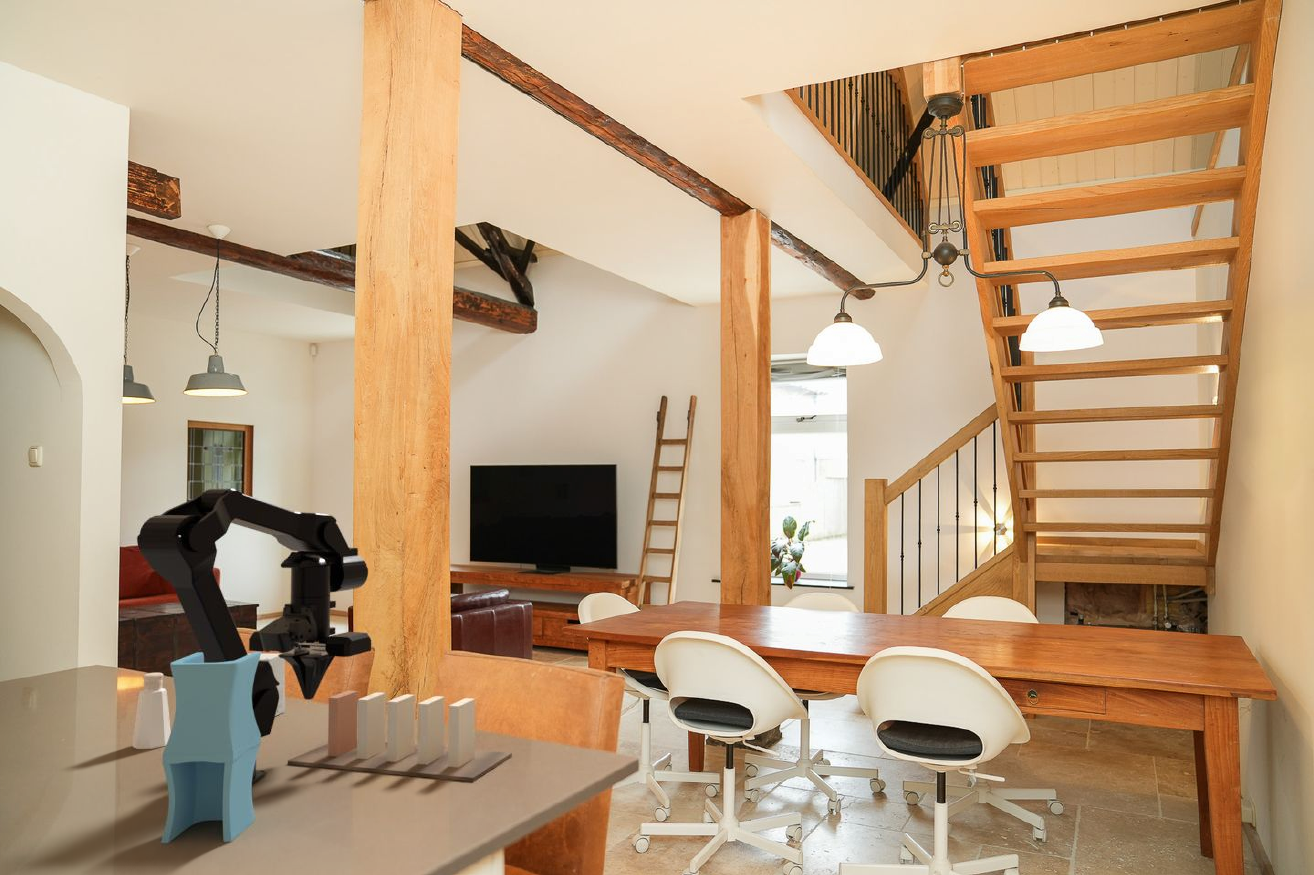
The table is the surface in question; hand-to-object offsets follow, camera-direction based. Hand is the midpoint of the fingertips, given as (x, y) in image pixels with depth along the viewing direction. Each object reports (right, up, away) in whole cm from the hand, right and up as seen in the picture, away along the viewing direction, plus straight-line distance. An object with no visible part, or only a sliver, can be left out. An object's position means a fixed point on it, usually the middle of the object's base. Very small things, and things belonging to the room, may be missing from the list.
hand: (308, 699), depth 138 cm
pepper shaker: (-26, -9, +4) cm, 28 cm away
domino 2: (+15, -7, -5) cm, 18 cm away
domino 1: (+11, -7, -3) cm, 13 cm away
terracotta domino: (+6, -7, -2) cm, 10 cm away
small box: (-18, -10, +22) cm, 30 cm away
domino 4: (+25, -7, -8) cm, 27 cm away
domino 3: (+20, -7, -6) cm, 22 cm away
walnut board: (+15, -8, -5) cm, 18 cm away
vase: (+1, -7, -31) cm, 32 cm away
